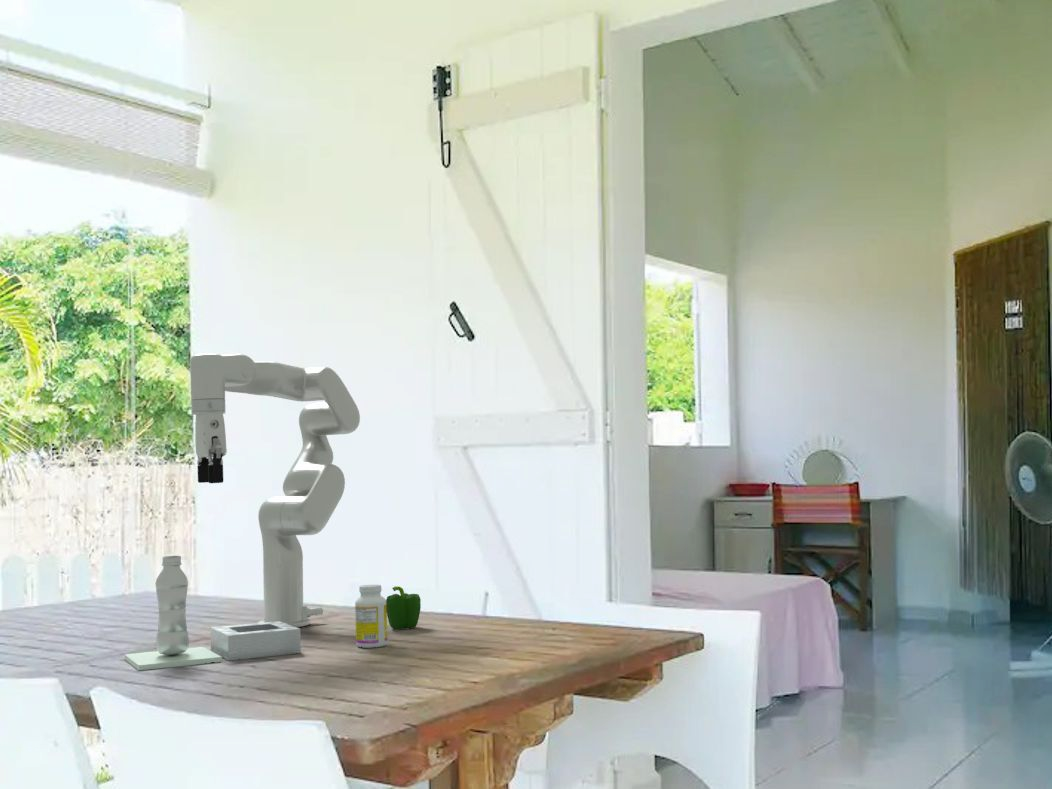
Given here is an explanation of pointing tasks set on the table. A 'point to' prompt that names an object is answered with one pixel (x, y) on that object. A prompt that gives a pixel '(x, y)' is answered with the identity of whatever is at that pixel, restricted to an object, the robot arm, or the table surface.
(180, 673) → the table surface
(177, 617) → the plastic bottle
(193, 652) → the pad
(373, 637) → the supplement bottle
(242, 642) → the bore block
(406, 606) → the bell pepper
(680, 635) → the table surface
